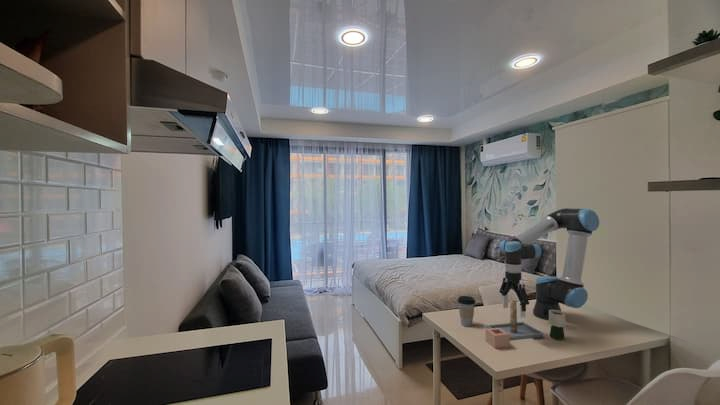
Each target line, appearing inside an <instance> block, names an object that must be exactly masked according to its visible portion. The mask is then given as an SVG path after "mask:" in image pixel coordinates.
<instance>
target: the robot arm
mask: <svg viewBox="0 0 720 405" xmlns="http://www.w3.org/2000/svg"><path fill="white" fill-rule="evenodd" d="M599 227H600V219H599V216H598V215H597V213H596V211H594V210H592V209H589V208H568V207H567V208H561V209H558V210H555V211H553V212H550V213H549V214H547V215H546V216H544V217H543V218H542V220H541V221H539V222H537V223H536V224H534V225H533V226H531V227H529V228H527V229H526V230H524V231H523V232H521V233H519V234H518V235H516V236H514V237H513V238H511V239H509V240H508V239H507V240H501V241H500V243H499V246H498V248H499V251H500V252H501V253H502V254H504V263H505V264H504V266H505V267H504V269H505V272H504V273H505V274H504V276H505V277H503V278H502V283H501V285H500V289H499V291H498V292H499V293H500V294H501V296H502V298H501V299H502V308H503V309H507V308H509V296H508V293H509V292H510V291H511V290H513V292H514V293H515V294H516V296H517V299H518V301H519V318H520V319H521V318H526V314H527V312H526V311H527V305H530V302H529V298H528V294H527V292H526V288H525V284H524V283H521V282H520V281H521V280H522V260H534V259H538V258H540V257H541V256H542V249H541V247H540V246H539V245H538V244H536V243H535V242H536V241H538V240H539V239H541V238H542V237H544V236H546V235H548V234H549V233H550V232H555V231H557V230H559V229H566V232H567V233H568V240H567V245H566V251H565V258H564V264H563V271H562V276H560V277H557V276H550V275H542V276H538V277H536V280H535V304H534V306H533V309H532V315H534V316H535V317H537V318H540V319H544V320H547V321H549V310H559V311H562V308H561V306H560V304H561V305H564V306H566V307H569V308H573V309H579V308H581V307H583V306H584V305H585V304H586V303H587V301H588V298H589V293H588V292H587V290H586V289H585V288H584V285H585V284H584V283H583V282H582V275H583V270H584V264H585V257H586V252H587V244H588V238H589V237H591V236H592V235H593V232H594V231H597V230H598V228H599Z"/></svg>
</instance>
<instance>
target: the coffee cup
mask: <svg viewBox="0 0 720 405" xmlns="http://www.w3.org/2000/svg"><path fill="white" fill-rule="evenodd" d="M457 302H458V311H459V317H460V325H462V327H467V328H470V327H472V326H473V322H474V321H473V319H474V314H475V313H474V312H475V304H476V300H475V298H474V297H472V296H469V295H461V296H459V297H458V298H457Z"/></svg>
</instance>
